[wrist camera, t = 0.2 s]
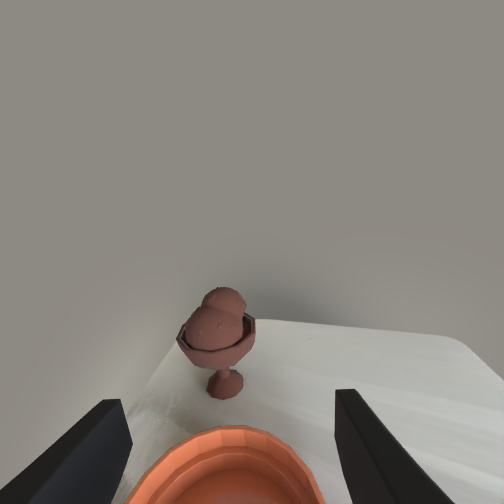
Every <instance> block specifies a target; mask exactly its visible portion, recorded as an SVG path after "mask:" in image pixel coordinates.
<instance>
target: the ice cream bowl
mask: <svg viewBox="0 0 504 504" xmlns="http://www.w3.org/2000/svg"><path fill="white" fill-rule="evenodd" d="M246 306H247V305H246V303H245V301H244V300H243V299H242V296H241V295H240V294H239V293H238V292H237V291H235V290H233V289H231V288H226V287H220V288H219V287H217V288H216V289H214V290H212V291H210V292H209V293H208V294H207V295H205V297H204V299H203V301H202V305H201V307H198V308H197V309H196V311H195V312H194V313H193V314H192V315H191V317H190V318H189V319H188V320H187V322H186V323H185V324H183V325H182V327H181V330H180V332H179V334H178V336H177V338H176V340H177V342H178V345H179V347H180V348H181V350H182V351H183V352H184V353H185V355H186V356H187V357H188V358H189V359H190V361H191V362H192V363H193V364H194V365H195V366H198V367H201V368H207V369H213V370H217V372H216V373H215V374H213V375H212V376H211V377H210V378H209V381H208V386H207V391H208V393H209V394H210V395H211V397H212V398H218V399H223V400H224V399H227V398H230V397H233V396H236V394H237V393H238V392H239V391H240V390H241V389H242V388H243V377H242V376H241V375H240V374H239V373H238V372H237V371H236V370H231V369H229V367H230V366H233V365H235V364H236V363H237V362H238V361H239V360H240V359H241V358H242V357H243V356H244V355H246V354H247V353H248V352H249V351H250V350H251V349H252V346H253V344H254V342H255V333H256V331H255V318H253V317H251V316H250V315H248V314H246V313H244V311H245V309H246Z"/></svg>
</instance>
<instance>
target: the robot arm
mask: <svg viewBox="0 0 504 504" xmlns="http://www.w3.org/2000/svg"><path fill="white" fill-rule="evenodd" d="M335 441H336V445H337V450H338V454H339V458H340V463H341V467H342V471H343V475H344V478H345V481H346V484H347V487H348V491H349V494H350V497H351V500H352V503H353V504H455V503H454V502H453V501H452V500H451V499H450V498H449V497H448V496H447V495H446V494H445V493H444V492H443V491H442V490H441V489H440V488H439V486H438V485H437V484H436V483H435V482H434V481H433V480H432V479H431V478H430V477H429V476H428V475H427V474H426V472H425V471H424V470H423V469H422V468H421V467H420V466H419V465H418V464H417V463H416V461H415V460H414V459H413V458H412V457H411V456H410V455H409V453H408V452H407V451H406V450H405V449H404V448H403V447H402V445H401V444H400V443H399V442H398V441H397V440H396V439H395V437H394V436H393V435H392V434H391V433H390V431H389V430H388V429H387V428H386V427H385V425H384V424H383V423H382V422H381V421H380V419H379V418H378V417H377V416H376V414H375V413H374V412H373V411H372V409H371V408H370V407H369V406H368V404H367V403H366V402H365V400H364V399H363V398H362V397H361V395H360V394H359V393H358V391H356V390H355V389H339V390H336V391H335ZM132 445H133V442H132V439H131V435H130V432H129V428H128V425H127V421H126V418H125V414H124V411H123V407H122V404H121V400H120V399H109V400H108V399H107V400H102V401H101V402H99V403H98V404H97V405H96V406H95V407H94V408H92V409H91V410H90V411H89V412H88V413H87V414H86V415H85V416H84V417H83V418H81V419H80V420H79V421H78V422H77V423H76V424H75V425H74V426H72V428H70V429H69V430H68V431H67V432H66V433H65V434H64V435H63V436H62V437H60V438H59V439H58V440H57V441H56V442H55V443H54V444H53V445H51V447H49V448H48V449H47V450H46V451H45V452H44V453H43V454H42V455H40V456H39V457H38V458H37V459H36V460H35V461H34V462H32V463H31V464H30V465H29V466H28V467H27V468H26V469H24V470H23V471H22V472H21V473H20V474H19V475H17V476H16V477H15V478H14V479H13V480H12V481H10V482H9V483H8V484H7V485H6V486H4V487H3V488H2V489H1V490H0V504H111V502H112V499H113V497H114V495H115V493H116V490H117V488H118V486H119V483H120V481H121V478H122V475H123V472H124V470H125V467H126V464H127V461H128V458H129V455H130V451H131V448H132Z"/></svg>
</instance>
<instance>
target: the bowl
mask: <svg viewBox="0 0 504 504" xmlns="http://www.w3.org/2000/svg"><path fill="white" fill-rule="evenodd" d="M124 504H326V503H325V500H324V498H323V496H322V494H321V492H320V490H319V487H318V485H317V483H316V481H315V479H314V476H313V474H312V472H311V470H310V469H309V468H308V467H307V466H306V464H305V463H304V462H303V461H302V460H301V458H300V457H299V456H298V455H297V454H296V453H295V451H294V450H293V449H292V448H291V447H290V446H289V445H287V444H286V443H284V442H283V441H281V440H280V439H278V438H277V437H275V436H274V435H272V434H270V433H269V432H266V431H263V430H259V429H256V428H252V427H249V426H244V425H239V426H218V427H215V428H212V429H209V430H205V431H202V432H199V433H196V434H194V435H192V436H190V437H189V438H187V439H185V440H184V441H182V442H181V443H179V444H177V445H176V446H174V447H172V448H171V449H169V450H168V451H167V452H166V453H165V454H164V455H163V456H162V457H161V458H160V459H159V460H158V461H157V462H156V463H155V464H154V465H153V466H152V467H150V468H149V469H148V470H147V471H146V472H145V473H144V475H143V476H142V478H141V479H140V481H139V482H138V483H137V485H136V486H135V488H134V489H133V491H132V492H131V494H130V495H129V496H128V498H127V499H126V501H125V502H124Z"/></svg>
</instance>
